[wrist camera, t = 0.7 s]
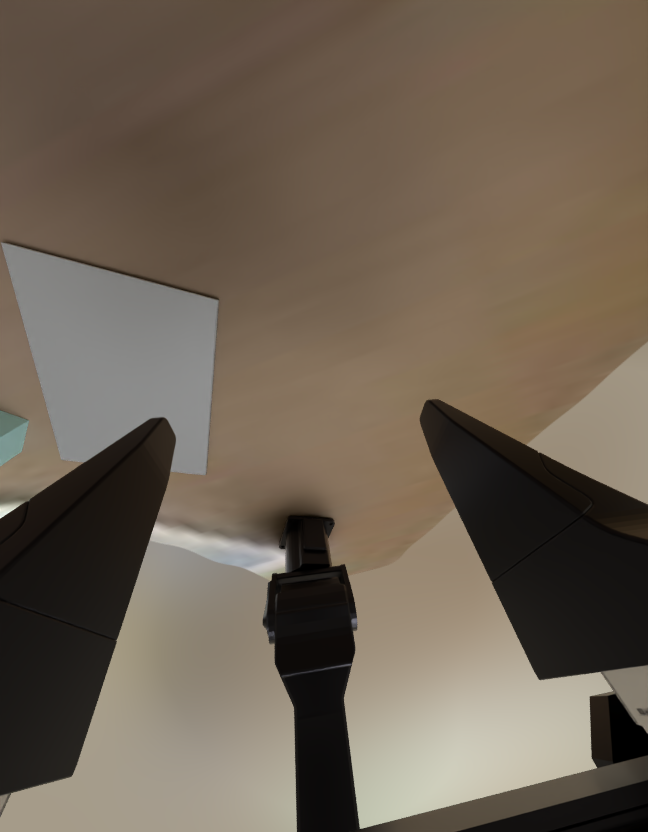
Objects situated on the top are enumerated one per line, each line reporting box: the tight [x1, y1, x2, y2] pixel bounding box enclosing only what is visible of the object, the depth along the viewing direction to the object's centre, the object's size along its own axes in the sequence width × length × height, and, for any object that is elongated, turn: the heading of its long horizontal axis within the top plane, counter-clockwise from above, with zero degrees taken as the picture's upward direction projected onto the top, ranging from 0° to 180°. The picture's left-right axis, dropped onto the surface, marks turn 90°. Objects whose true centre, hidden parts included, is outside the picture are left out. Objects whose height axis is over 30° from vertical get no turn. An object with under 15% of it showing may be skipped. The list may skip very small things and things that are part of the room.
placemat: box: [1, 242, 219, 475], centre depth 22 cm, size 18×13×1 cm
